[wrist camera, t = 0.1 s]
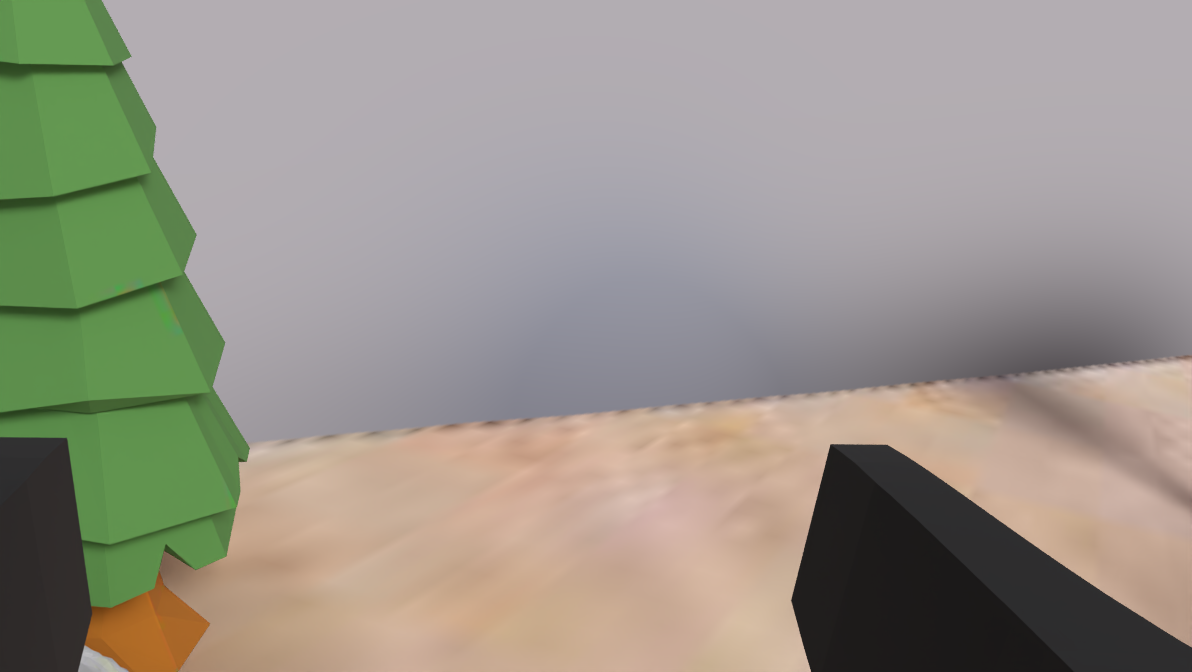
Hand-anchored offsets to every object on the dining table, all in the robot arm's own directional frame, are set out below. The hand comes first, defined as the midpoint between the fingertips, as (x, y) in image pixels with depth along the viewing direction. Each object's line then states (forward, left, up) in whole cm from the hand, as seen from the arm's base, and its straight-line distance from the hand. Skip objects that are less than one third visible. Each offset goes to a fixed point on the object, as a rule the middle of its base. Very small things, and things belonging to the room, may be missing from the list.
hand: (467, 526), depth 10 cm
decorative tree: (+25, +10, -22) cm, 35 cm away
